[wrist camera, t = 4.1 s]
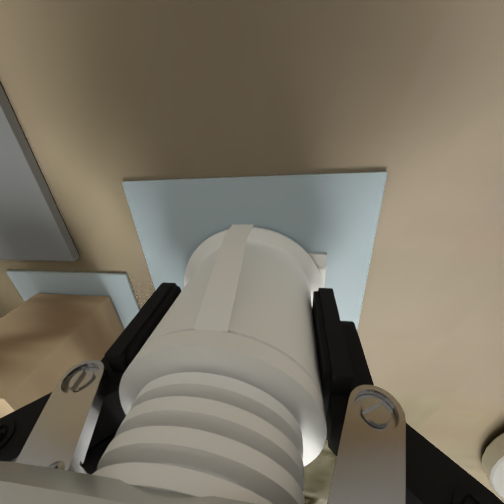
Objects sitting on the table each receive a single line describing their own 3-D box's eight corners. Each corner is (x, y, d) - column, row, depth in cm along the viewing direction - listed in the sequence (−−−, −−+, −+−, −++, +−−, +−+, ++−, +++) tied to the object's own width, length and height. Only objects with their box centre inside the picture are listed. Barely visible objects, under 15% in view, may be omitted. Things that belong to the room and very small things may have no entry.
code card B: (133, 267, 14) (124, 275, 13) (165, 359, 18) (159, 370, 17) (18, 264, 15) (3, 272, 14) (70, 351, 19) (61, 361, 18)
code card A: (380, 168, 10) (388, 172, 9) (347, 354, 15) (350, 367, 14) (131, 178, 11) (120, 182, 11) (179, 342, 17) (173, 352, 16)
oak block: (109, 296, 14) (3, 398, 9) (134, 354, 17) (61, 462, 11) (37, 293, 15) (-99, 385, 10) (70, 349, 17) (-25, 447, 12)
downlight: (317, 349, 14) (363, 744, 5) (199, 341, 15) (61, 650, 6) (328, 213, 10) (558, 706, 1) (174, 215, 11) (-241, 498, 3)
